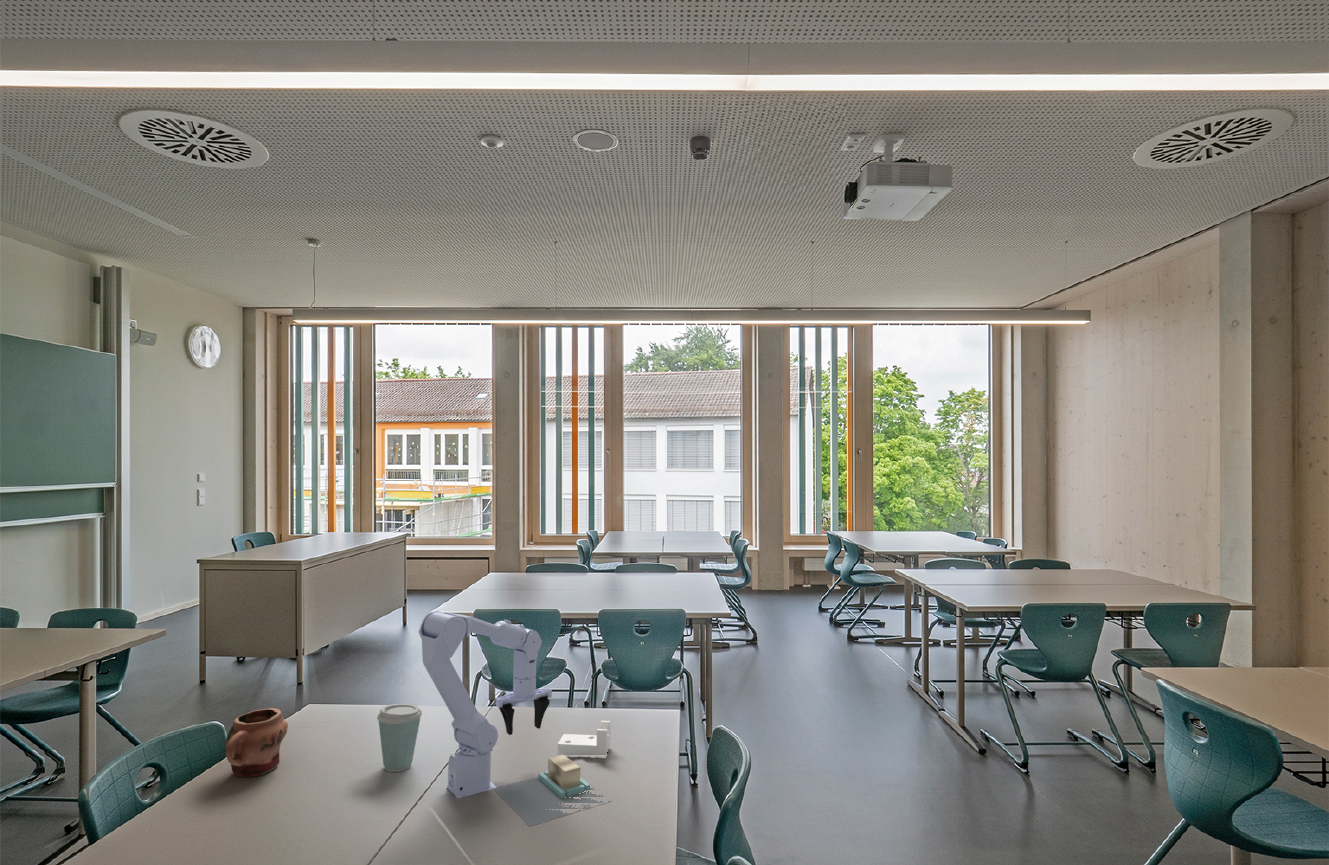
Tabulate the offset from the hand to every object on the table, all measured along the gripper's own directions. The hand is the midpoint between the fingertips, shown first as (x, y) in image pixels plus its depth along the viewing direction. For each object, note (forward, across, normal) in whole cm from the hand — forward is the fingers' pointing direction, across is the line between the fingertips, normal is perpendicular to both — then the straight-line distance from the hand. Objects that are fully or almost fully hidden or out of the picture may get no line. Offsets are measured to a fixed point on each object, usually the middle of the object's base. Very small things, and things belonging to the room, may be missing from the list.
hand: (523, 730), depth 177 cm
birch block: (+9, +4, -15) cm, 18 cm away
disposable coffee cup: (+10, -26, +18) cm, 33 cm away
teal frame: (+9, +4, -15) cm, 18 cm away
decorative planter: (+10, -57, +35) cm, 67 cm away
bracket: (+10, +18, 0) cm, 20 cm away
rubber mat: (+9, -1, -18) cm, 21 cm away
